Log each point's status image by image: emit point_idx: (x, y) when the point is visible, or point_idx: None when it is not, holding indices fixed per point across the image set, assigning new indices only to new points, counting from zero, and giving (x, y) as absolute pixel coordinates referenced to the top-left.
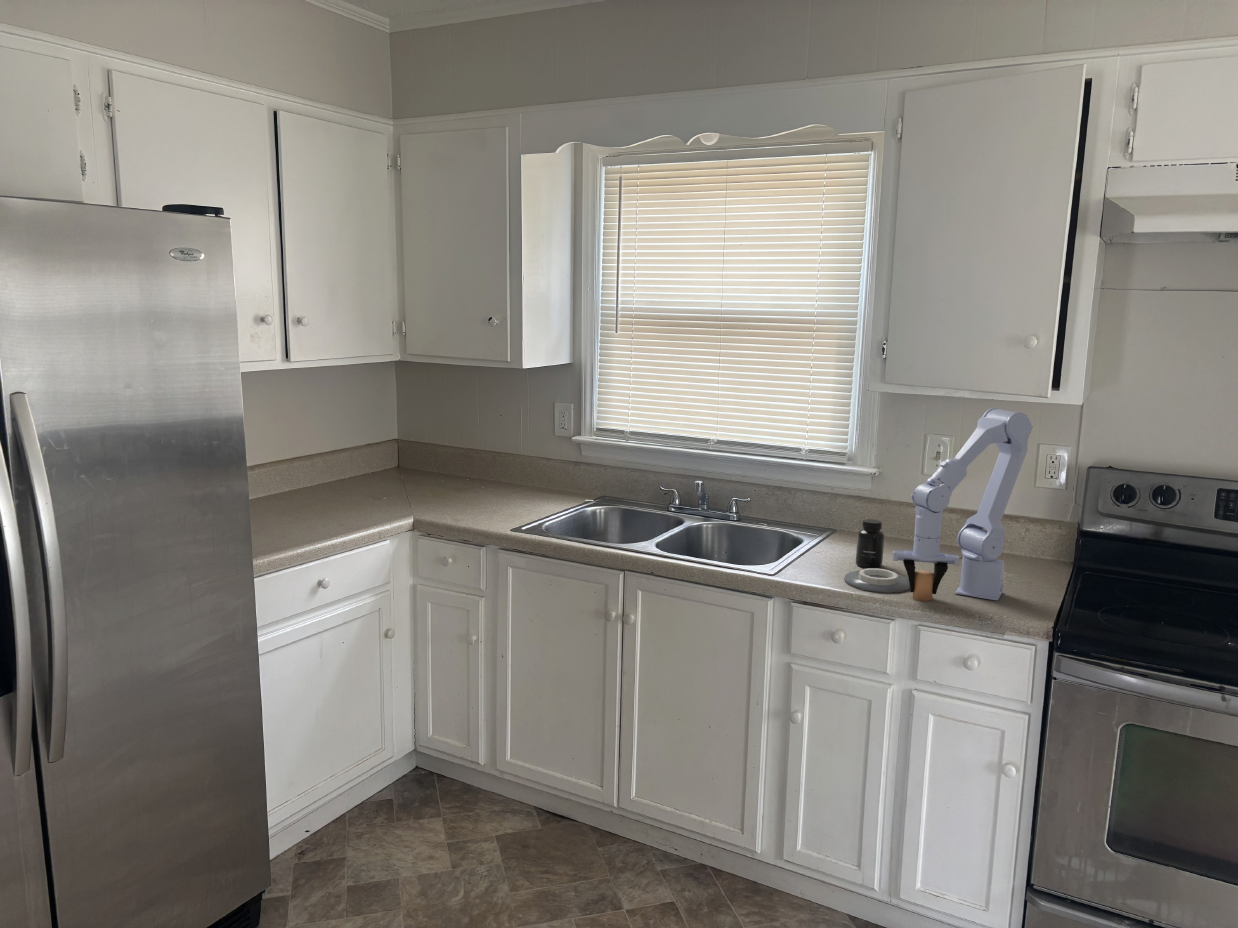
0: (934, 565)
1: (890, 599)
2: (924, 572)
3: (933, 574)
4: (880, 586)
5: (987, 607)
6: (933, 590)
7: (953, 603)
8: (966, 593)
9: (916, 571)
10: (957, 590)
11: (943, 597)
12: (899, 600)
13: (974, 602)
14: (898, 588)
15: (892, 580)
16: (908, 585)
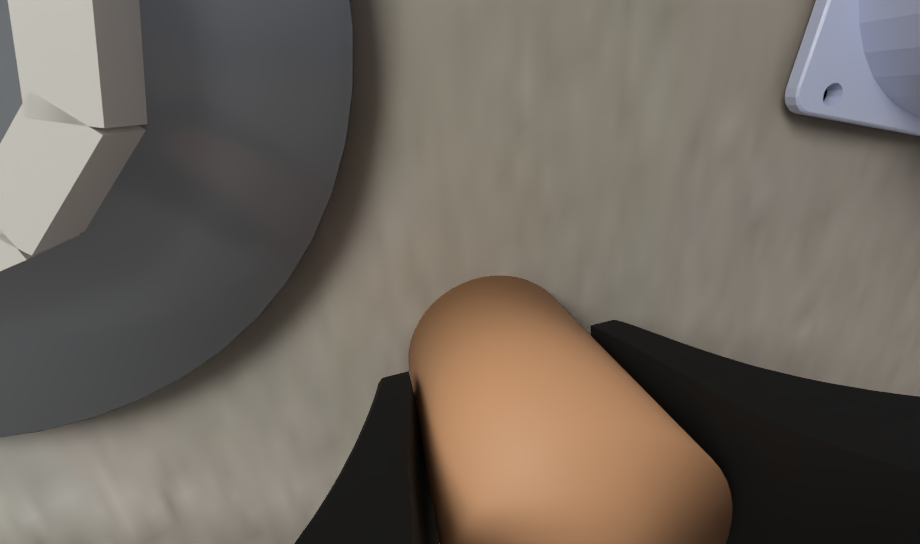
0: (860, 488)
1: (246, 519)
2: (601, 519)
3: (718, 538)
4: (18, 328)
5: (911, 331)
6: None
7: None
8: (877, 114)
9: (477, 538)
10: (823, 41)
11: (660, 252)
12: (321, 503)
13: (863, 263)
14: (242, 299)
15: (89, 180)
16: (324, 120)
